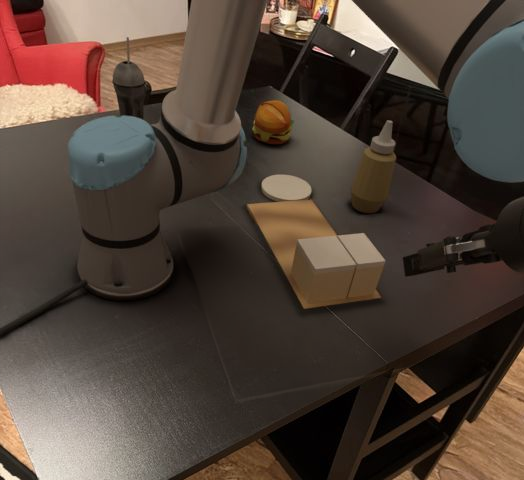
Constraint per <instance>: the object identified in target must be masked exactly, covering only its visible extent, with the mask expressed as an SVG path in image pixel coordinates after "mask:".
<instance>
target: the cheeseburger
mask: <svg viewBox="0 0 524 480" xmlns="http://www.w3.org/2000/svg"><path fill="white" fill-rule="evenodd" d="M294 123H295V121H294V119H292V115H291V112H290V110H289V108H288V106H287V104H285V102H283V101H281V100H277V99H276V100H268V101H264V102H261V103H260V104H259V106H258V108H257V110H256V111H255V115H254V120H253V126H252V128H251V129H252V132H253V137H254V138H255V139H256V140H257V141H260V142H262V143H265V144H269V145H282V144H285V143H287V142H288V140H290V137H291V131H292V129H293V125H294Z"/></svg>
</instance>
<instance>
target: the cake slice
mask: <svg viewBox="0 0 524 480" xmlns="http://www.w3.org/2000/svg"><path fill="white" fill-rule="evenodd" d="M337 238H338V240H339V241H340V242H341V244H342V245H343V247H344V248H345V249H346V251H347V252H348V254H349V255H350V256H351V258H352V259H353V261H354V262H355V263H356V267H355V270H354V273H353V277H352V280H351V283H350V286H349V290H348V293H347V298H351V297H359V296H366V295H373V294H374V293H375V290H377V286H378V285H379V281H380V278H381V275H382V272H383V270H384V267H385V264H386V259H385V258H384V256H383V255H382V254H381V253H380V251H378V249H377V248H376V247H375V245H374V244H373V243H372V241H371V240H370V239H369V237H368V236H367V234H366V233H364V232H361V233H349V234H339V235H337Z"/></svg>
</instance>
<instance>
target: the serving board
mask: <svg viewBox="0 0 524 480" xmlns="http://www.w3.org/2000/svg"><path fill="white" fill-rule="evenodd" d="M246 210H247V212H248V214H249V216H250V217H251V219H252V221H253V222H254V224H255V225H258V227H259V229H260V231H261V232H262V234H263V236H264V238H265V240H266V242H267V244H268V245H269V247H270V249H271V251H272V253H273V255H274V256H275V259H276V260H277V262H278V264H279V266H280V268H281V269H282V271H283V273H284V275H285V277H286V279H287V281H288V282H289V284H290V286H291V287H292V290H293V291H294V294H295V296H297V297H296V298H297V299H298V300H299V302H300V304H301V307H302V308H303V309H312V308H320V307H326V306H333V305H340V304H347V303H354V302H355V303H356V302H362V301H370V300H375V299H383V298H382V296H381V294H380V293H379V292H378V290H377V289H376V290H375V293H374V294H373V295H366V296H359V297H351V298H347V296H346V298H344V299H337V300H330V301H322V302H315V303H307V302H306V300H305V298H304V296H303V294H302V293H301V291H300V289H299V287H298V285H297V284H296V282H295V280H294V278H293V277H292V275H291V270H292V265H293V259H294V254H295V248H296V243H297V239H307V238H317V237H328V236H336V237H337V236H338V235H337V233H336V231H334V229H333V228H332V226H331V224H330V223H329V222H328V221H327V219H326V218H325V216H324V215H323V213H322V212H321V211H320V210H319V208H318V207H317V205H316V203H314V201H313V199H308V200H298V201H284V202H277V201H271V202H259V203H257V202H256V203H247V204H246Z"/></svg>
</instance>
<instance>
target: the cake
mask: <svg viewBox="0 0 524 480" xmlns="http://www.w3.org/2000/svg"><path fill="white" fill-rule="evenodd" d="M355 267H356V263H355V262H354V261H353V259H352V258H351V256H350V255H349V254H348V252H347V251H346V249H345V248H344V247H343V245H342V244H341V242H340V241H339V240H338V238H337V237H336V236H328V237H317V238H307V239H297V243H296V248H295V254H294V259H293V265H292V270H291V275H292V277H293V278H294V280H295V282H296V284H297V285H298V287H299V289H300V291H301V293H302V294H303V296H304V298H305V300H306V302H307V303H315V302H322V301H330V300H337V299H344V298H346V296H347V293H348V290H349V286H350V283H351V280H352V277H353V273H354V270H355Z"/></svg>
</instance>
